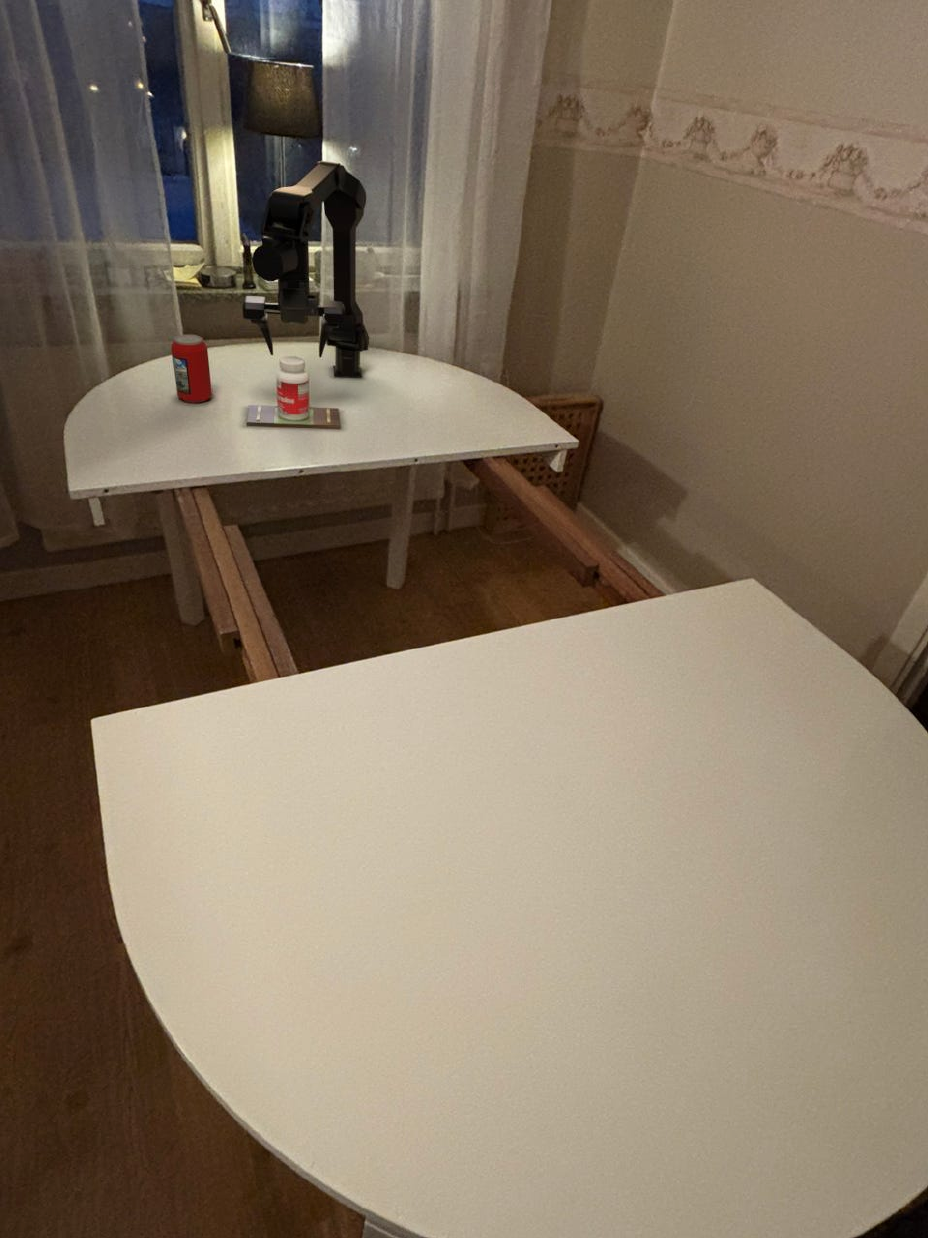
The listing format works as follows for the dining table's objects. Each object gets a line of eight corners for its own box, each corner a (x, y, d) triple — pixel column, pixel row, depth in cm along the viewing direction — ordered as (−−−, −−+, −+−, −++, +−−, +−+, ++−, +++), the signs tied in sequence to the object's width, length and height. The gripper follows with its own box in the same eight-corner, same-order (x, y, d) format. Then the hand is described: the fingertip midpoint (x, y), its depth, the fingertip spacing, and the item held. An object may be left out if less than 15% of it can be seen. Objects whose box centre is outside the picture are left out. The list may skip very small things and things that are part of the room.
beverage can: (175, 393, 153) (167, 333, 146) (209, 391, 155) (203, 332, 148) (180, 405, 148) (172, 344, 141) (215, 403, 151) (209, 343, 144)
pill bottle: (271, 414, 147) (268, 358, 140) (295, 407, 151) (293, 352, 144) (292, 424, 144) (290, 367, 137) (316, 416, 148) (315, 361, 142)
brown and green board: (249, 408, 150) (248, 403, 150) (338, 411, 154) (338, 407, 153) (246, 426, 143) (246, 421, 143) (340, 429, 147) (340, 424, 146)
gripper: (237, 277, 127) (244, 367, 137) (346, 284, 131) (346, 372, 140) (241, 262, 136) (247, 348, 145) (343, 269, 140) (343, 352, 149)
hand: (296, 355), depth 145 cm, fingers open, 9 cm apart
